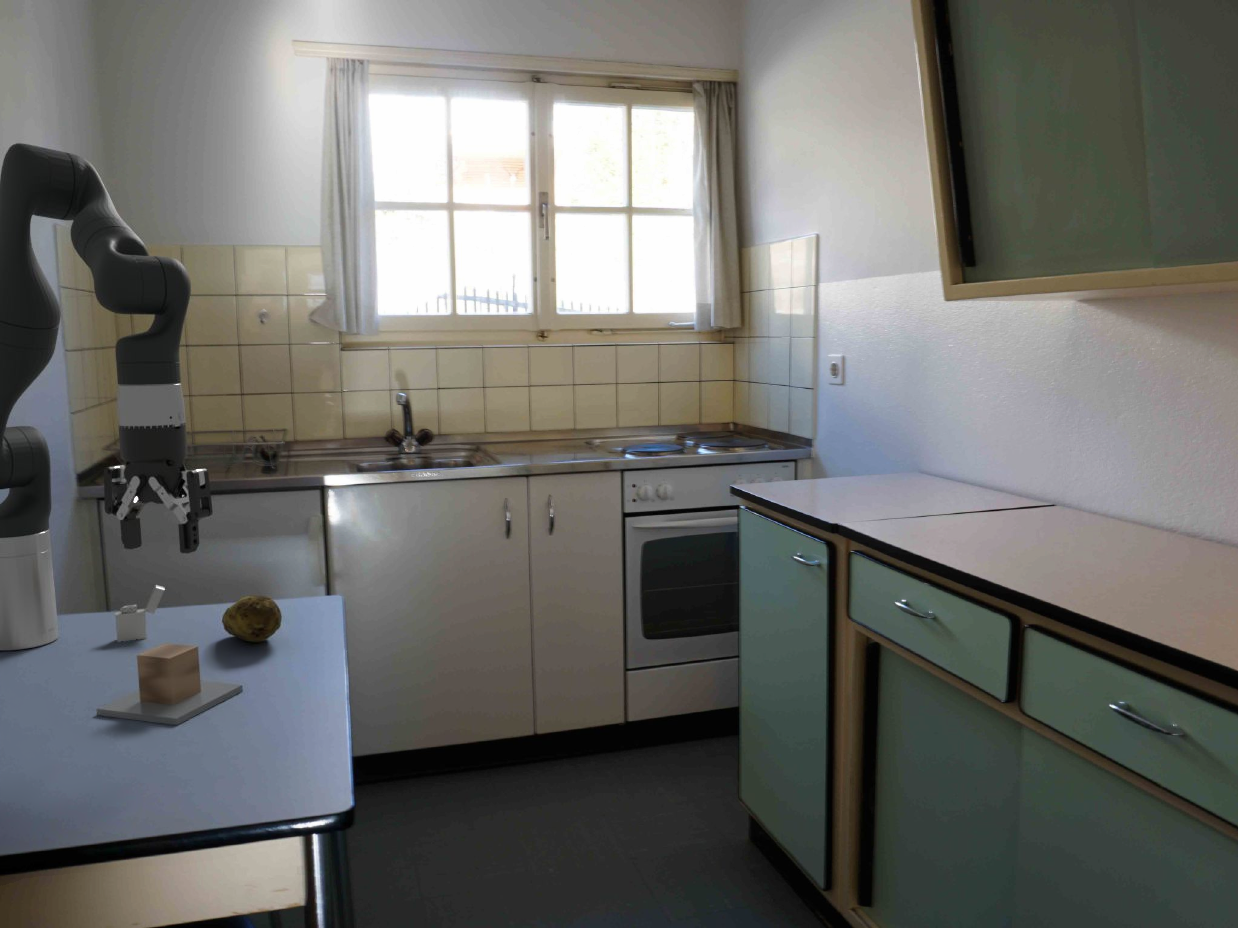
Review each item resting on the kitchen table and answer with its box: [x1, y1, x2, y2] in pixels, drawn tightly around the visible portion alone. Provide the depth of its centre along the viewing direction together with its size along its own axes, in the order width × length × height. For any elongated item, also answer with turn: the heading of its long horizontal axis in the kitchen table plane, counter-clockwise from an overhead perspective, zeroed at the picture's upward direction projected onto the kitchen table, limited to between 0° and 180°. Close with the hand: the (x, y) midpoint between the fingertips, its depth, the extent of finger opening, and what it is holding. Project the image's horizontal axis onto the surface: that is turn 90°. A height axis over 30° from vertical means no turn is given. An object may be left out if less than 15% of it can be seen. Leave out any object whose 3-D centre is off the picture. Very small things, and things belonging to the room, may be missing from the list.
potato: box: [221, 595, 283, 643], centre depth 149 cm, size 8×13×8 cm, turn 23°
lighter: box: [115, 584, 166, 643], centre depth 153 cm, size 7×2×8 cm, turn 118°
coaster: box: [96, 679, 244, 726], centre depth 125 cm, size 12×12×1 cm
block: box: [136, 642, 201, 705], centre depth 125 cm, size 5×5×6 cm
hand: (160, 550), depth 123 cm, fingers open, 8 cm apart
